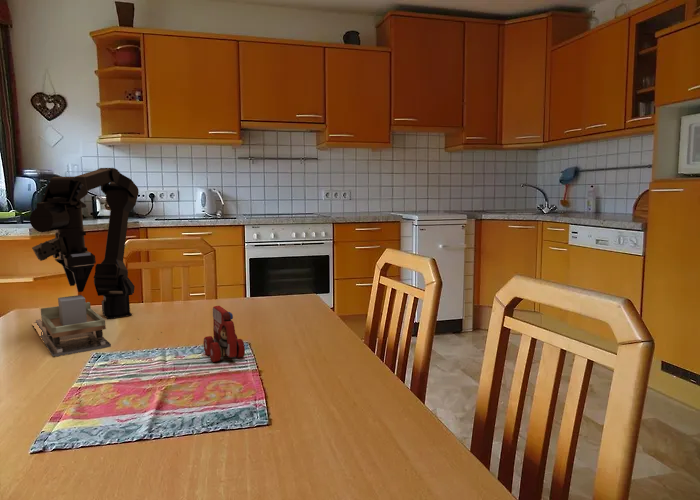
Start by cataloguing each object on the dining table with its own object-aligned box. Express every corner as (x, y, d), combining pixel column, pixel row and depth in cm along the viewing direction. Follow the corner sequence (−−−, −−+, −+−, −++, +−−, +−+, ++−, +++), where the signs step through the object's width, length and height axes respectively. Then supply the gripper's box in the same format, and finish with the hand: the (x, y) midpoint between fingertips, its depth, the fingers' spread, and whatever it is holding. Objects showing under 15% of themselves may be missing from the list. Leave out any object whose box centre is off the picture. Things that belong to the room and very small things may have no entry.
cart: (91, 325, 137) (89, 302, 136) (106, 339, 125) (104, 313, 124) (42, 332, 130) (40, 308, 130) (53, 348, 118) (51, 321, 117)
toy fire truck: (216, 367, 110) (214, 318, 108) (201, 350, 120) (199, 306, 119) (248, 361, 113) (247, 313, 112) (231, 346, 124) (230, 302, 122)
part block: (82, 318, 130) (81, 294, 129) (87, 323, 126) (85, 298, 125) (59, 322, 127) (57, 297, 126) (63, 326, 123) (61, 301, 122)
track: (80, 318, 150) (80, 313, 150) (110, 346, 124) (110, 340, 124) (31, 325, 143) (31, 320, 143) (52, 357, 117) (52, 351, 116)
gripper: (27, 227, 134) (33, 287, 136) (40, 233, 119) (47, 301, 122) (75, 223, 141) (81, 281, 143) (93, 229, 126) (99, 293, 129)
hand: (76, 288), depth 134 cm, fingers open, 9 cm apart
